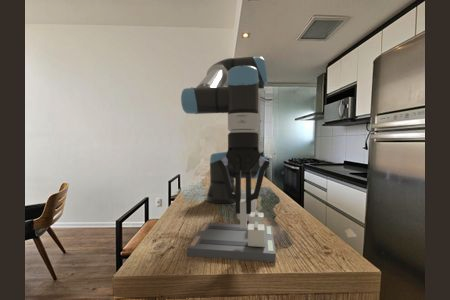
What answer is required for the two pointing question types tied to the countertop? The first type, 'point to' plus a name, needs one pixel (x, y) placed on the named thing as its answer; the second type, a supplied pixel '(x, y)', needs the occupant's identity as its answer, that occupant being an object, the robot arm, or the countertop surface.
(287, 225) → the countertop surface
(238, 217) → the white cup
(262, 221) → the block
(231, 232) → the switch panel
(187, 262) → the countertop surface
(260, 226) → the breaker
